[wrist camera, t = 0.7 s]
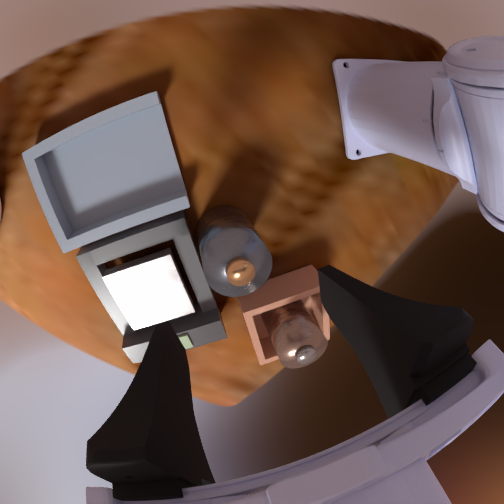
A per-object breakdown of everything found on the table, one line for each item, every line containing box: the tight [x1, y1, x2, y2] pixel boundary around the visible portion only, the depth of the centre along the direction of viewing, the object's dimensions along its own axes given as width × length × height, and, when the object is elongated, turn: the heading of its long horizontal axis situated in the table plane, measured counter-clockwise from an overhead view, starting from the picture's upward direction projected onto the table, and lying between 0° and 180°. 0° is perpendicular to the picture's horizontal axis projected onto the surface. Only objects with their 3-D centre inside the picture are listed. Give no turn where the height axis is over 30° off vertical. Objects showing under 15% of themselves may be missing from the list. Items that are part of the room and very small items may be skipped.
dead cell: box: [261, 299, 327, 368], centre depth 23 cm, size 4×4×6 cm
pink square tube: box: [237, 264, 330, 365], centre depth 25 cm, size 7×7×3 cm
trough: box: [22, 91, 190, 254], centre depth 16 cm, size 10×8×2 cm
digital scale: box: [76, 210, 227, 364], centre depth 20 cm, size 10×8×3 cm
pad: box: [102, 248, 195, 330], centre depth 20 cm, size 5×5×1 cm
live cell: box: [196, 205, 272, 297], centre depth 18 cm, size 4×4×6 cm
